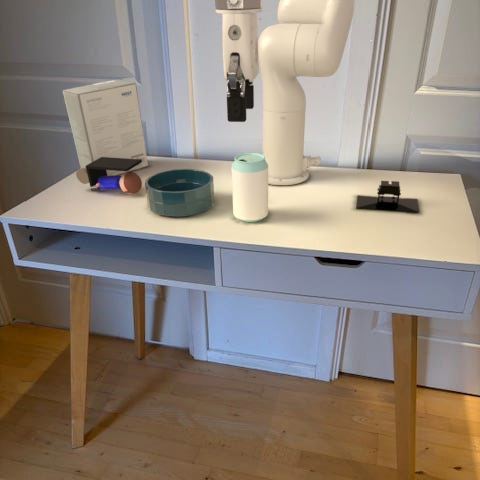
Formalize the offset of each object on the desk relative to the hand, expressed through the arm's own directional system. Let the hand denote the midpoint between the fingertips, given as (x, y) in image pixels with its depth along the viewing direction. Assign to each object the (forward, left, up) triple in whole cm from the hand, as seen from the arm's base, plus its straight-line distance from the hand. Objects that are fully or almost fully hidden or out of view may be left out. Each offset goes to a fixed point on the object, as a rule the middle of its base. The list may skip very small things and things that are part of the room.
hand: (241, 114), depth 89 cm
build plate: (-29, +8, -20) cm, 36 cm away
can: (-1, +1, -20) cm, 20 cm away
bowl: (+10, -11, -20) cm, 25 cm away
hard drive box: (+19, -41, -20) cm, 49 cm away
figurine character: (+22, -26, -20) cm, 40 cm away
